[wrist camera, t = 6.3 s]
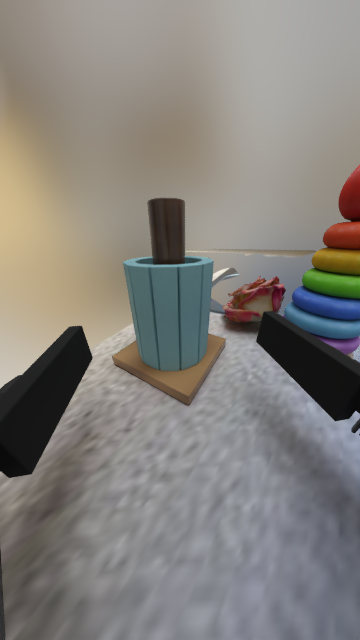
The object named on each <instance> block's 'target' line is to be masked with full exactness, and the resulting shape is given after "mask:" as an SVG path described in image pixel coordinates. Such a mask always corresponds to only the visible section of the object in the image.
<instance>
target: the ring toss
mask: <svg viewBox="0 0 360 640" xmlns="http://www.w3.org/2000/svg"><path fill="white" fill-rule="evenodd" d="M148 214H149V224H150V236H151V247H152V258H153V265H177V264H185V202H184V200H181V199H177V198H156V199H151V200H149V201H148ZM225 341H226V339H225V338H221V337H218V336H214V335H211V334H208V341H207V351H206V354H205V355H204V357H203V358H202V360H201V361H200V362H198V364H196V365H194V366H192V367H189V368H187V369H184V370H181V368H180V371H161V368H160V369H159V370H157V369H155V368H153V367H151V366H149V365H147V364H145V362H143V361H142V359H141V356H140V354H139V352H138V346H137V340H136V341H134V342H133V343H131V344H130V345H128V346H127V347H125V348H124V349H123V350H121V351H120V352H118V353H117V354H115V355H114V356H112V357H113V361H114V364H115V365H117V366H119V367H120V368H122V369H124V370H126V371H128V372H129V373H131V374H133V375H135V376H137V377H138V378H140V379H142V380H144V381H146V382H148V383H149V384H151V385H153V386H155V387H157V388H158V389H160V390H162V391H164V392H166V393H167V394H169V395H171V396H173V397H175V398H176V399H178V400H180V401H182V402H184V403H185V404H187V405H189V404H190V403H191V401H192V399H193V398H194V396H195V394H196V393H197V391H198V389H199V388H200V386H201V385H202V383H203V381H204V380H205V378H206V376H207V375H208V373H209V371H210V370H211V368H212V366H213V365H214V363H215V361H216V360H217V358H218V356H219V355H220V353H221V351H222V350H223V348H224V346H225Z"/></svg>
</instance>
